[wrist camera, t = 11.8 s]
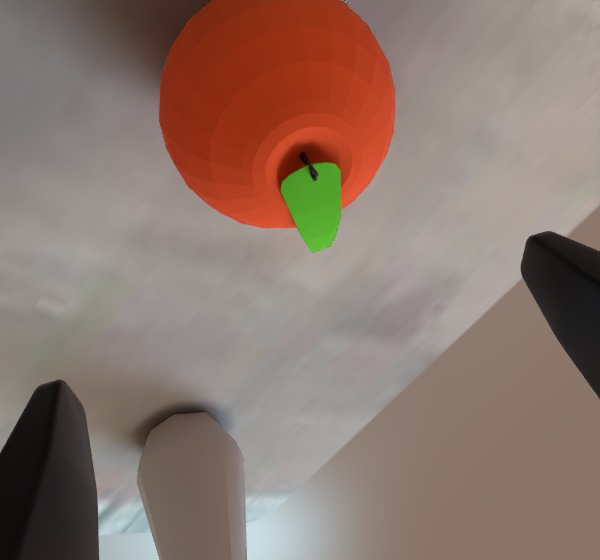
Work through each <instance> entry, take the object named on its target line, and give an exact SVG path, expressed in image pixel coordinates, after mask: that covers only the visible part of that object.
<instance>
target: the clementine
mask: <svg viewBox="0 0 600 560" xmlns="http://www.w3.org/2000/svg"><path fill="white" fill-rule="evenodd" d="M394 117H395V89H394V85H393V80H392V75H391V70H390V66H389V62H388V61H387V59H386V57H385V55H384V53H383V51H382V50H381V48H380V46H379V44H378V42H377V41H376V39H375V37H374V35H373V34H372V32H371V30H370V29H369V27H368V26H367V24H366V23H365V22H364V21H363V20H362V19H361V18H360V17H359V16H358V15H357V14H356V13H355V12H354V11H353V10H352V9H350V8H349V7H348V6H347V5H346V4H345V3H344V2H342V1H340V0H211V1H210V2H209V3H208V4H206V5H205V6H204V7H203V8H202V9H201V10H200V11H198V12H197V13H196V14H195V15H194V16H193V17H192V18H191V19H189V20H188V21H187V23H186V25H185V26H184V28H183V29H182V31H181V32H180V34H179V35H178V37H177V38H176V40H175V41H174V43H173V45H172V46H171V48H170V51H169V54H168V57H167V60H166V63H165V67H164V70H163V73H162V76H161V84H160V110H159V122H160V126H161V129H162V133H163V137H164V141H165V145H166V148H167V151H168V153H169V154H170V156H171V158H172V160H173V162H174V164H175V166H176V167H177V169H178V171H179V172H180V174H181V176H182V177H183V179H184V180H185V182H186V184H187V185H188V187H189V188H190V189H191V190H193V191H194V192H195V193H196V194H197V195H198V196H199V197H200V198H201V199H202V200H203V201H205V202H206V203H207V204H208V205H210V206H211V207H213V208H214V209H216V210H217V211H219V212H220V213H222V214H224V215H226V216H228V217H230V218H232V219H234V220H236V221H238V222H240V223H243V224H248V225H252V226H257V227H261V228H293V227H297V229H298V231H299V233H300V235H301V236H302V238H303V239H304V241H305V243H306V244H307V246H308V248H309V249H310V251H311V252H312V253H313V252H316V251H319V250H322V249H325V248H328V247H330V246H331V244H332V242H333V241H334V238H335V236H336V233H337V231H338V226H339V222H340V217H341V210H342V209H343V208H344V207H346V206H347V205H348V204H350V203H351V202H353V201H354V200H355V199H356V198H357V196H358V195H359V194H360V193H361V192H362V191H363V190H364V189H365V188H366V187H367V186H368V184H369V183H370V182H371V180H372V179H373V177H374V176H375V174H376V172H377V170H378V169H379V167H380V165H381V164H382V162H383V160H384V159H385V157H386V154H387V151H388V148H389V145H390V142H391V139H392V136H393V132H394Z"/></svg>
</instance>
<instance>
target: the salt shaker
mask: <svg viewBox="0 0 600 560" xmlns="http://www.w3.org/2000/svg"><path fill="white" fill-rule="evenodd" d="M137 485H138V488H139V491H140V495H141V498H142V502H143V505H144V508H145V512H146V515H147V519H148V522H149V525H150V529H151V532H152V536H153V539H154V542H155V546H156V549H157V553H158V556H159V559H160V560H247V549H246V513H245V479H244V458H243V455H242V453H241V451H240V449H239V447H238V445H237V443H236V442H235V440H234V439H233V438H232V437H231V436H230V435H229V434H228V433H227V432H226V431H225V430H224V429H223V428H222V426H221V425H220V424H219V423H218V422H216V421H215V420H214V419H213V418H212V417H211V416H210V415H209V414H208V413H207V412H200V413H185V414H174V415H172V416H171V417H169V418H168V419H167V420H165V421H164V422H162V423H161V424H159V425H158V426H156V427H155V428H154V429H152V430H151V431H150V433H149V436H148V439H147V442H146V444H145V447H144V450H143V453H142V456H141V459H140V462H139V468H138V474H137Z"/></svg>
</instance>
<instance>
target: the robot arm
mask: <svg viewBox="0 0 600 560" xmlns="http://www.w3.org/2000/svg"><path fill="white" fill-rule="evenodd" d="M521 274H522V277H523V279H524V281H525V282H526V284H527V286H528V288H529V290H530V291H531V293H532V295H533V297H534V299H535V300H536V302H537V304H538V306H539V308H540V309H541V311H542V313H543V315H544V317H545V318H546V320H547V322H548V324H549V325H550V327H551V329H552V331H553V333H554V334H555V336H556V337H557V339H558V341H559V342H560V344H561V345H562V346H563V348H564V350H565V351H566V352H567V354H568V355H569V357H570V358H571V359H572V361H573V362H574V364H575V365H576V366H577V368H578V369H579V371H580V372H581V373H582V375H583V376H584V378H585V379H586V380H587V382H588V383H589V385H590V386H591V387H592V389H593V390H594V392H595V393H596V394H597V396H598V397H599V399H600V251H597V250H595V249H593V248H591V247H588V246H586V245H583V244H581V243H578V242H576V241H574V240H571V239H569V238H566V237H564V236H562V235H559V234H557V233H554V232H551V231H546V232H542V233H539V234H535V235H532V236H530V237H529V238H528V239H527V241H526V245H525V249H524V253H523V258H522V262H521ZM0 560H99V540H98V503H97V489H96V481H95V474H94V468H93V461H92V455H91V448H90V441H89V435H88V428H87V421H86V415H85V411H84V408H83V406H82V404H81V402H80V401H79V399H78V398H77V397H76V395H75V394H74V393H73V391H72V390H71V389H70V387H69V386H68V385H67V383H66V382H65V381H63V380H61V379H60V380H55V381H52V382H49V383H45V384H42V385H40V386H38V387H37V388H36V390H35V391H34V393H33V395H32V397H31V398H30V400H29V402H28V404H27V406H26V408H25V409H24V411H23V413H22V415H21V417H20V418H19V420H18V422H17V424H16V426H15V427H14V429H13V431H12V433H11V435H10V436H9V438H8V440H7V442H6V444H5V445H4V447H3V449H2V451H1V453H0Z"/></svg>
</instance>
